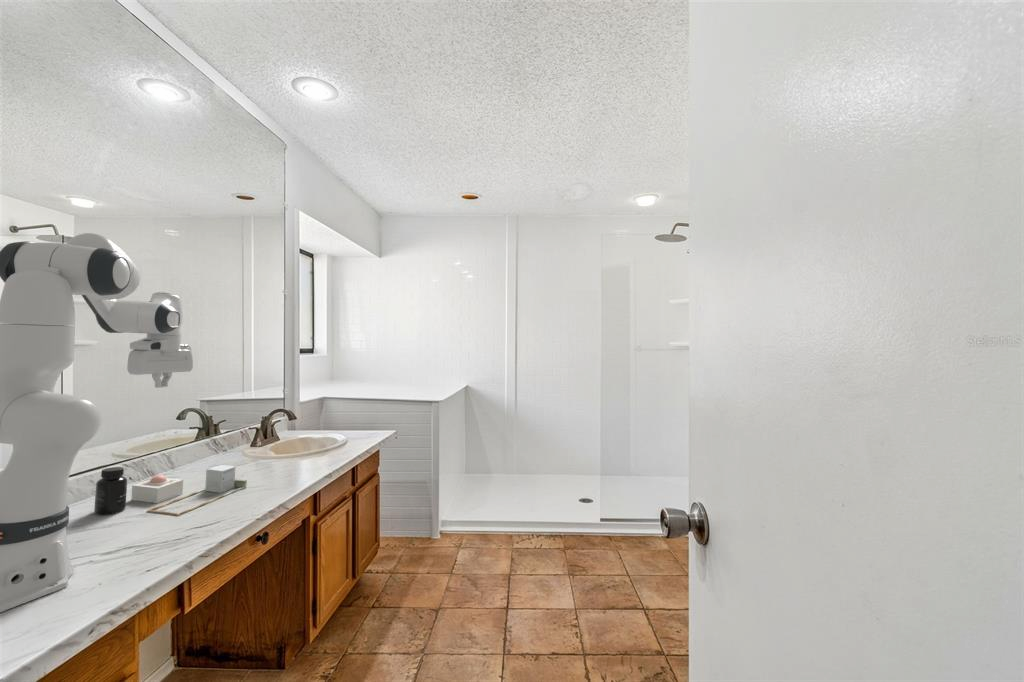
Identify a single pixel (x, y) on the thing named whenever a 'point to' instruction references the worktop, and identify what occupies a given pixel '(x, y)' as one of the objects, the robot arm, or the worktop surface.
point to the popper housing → (157, 491)
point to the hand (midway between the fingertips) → (161, 387)
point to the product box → (220, 478)
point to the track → (238, 483)
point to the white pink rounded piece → (158, 481)
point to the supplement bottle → (111, 491)
